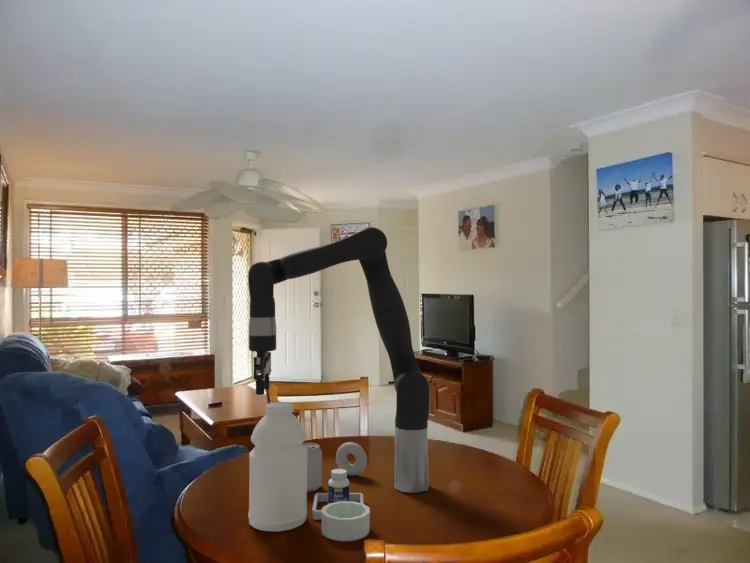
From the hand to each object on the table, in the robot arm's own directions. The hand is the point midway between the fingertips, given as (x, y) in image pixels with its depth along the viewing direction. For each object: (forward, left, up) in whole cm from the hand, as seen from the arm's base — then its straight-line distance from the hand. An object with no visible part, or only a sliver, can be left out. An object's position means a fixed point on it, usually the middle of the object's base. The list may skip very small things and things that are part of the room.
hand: (262, 391), depth 158 cm
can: (-13, -2, -28) cm, 30 cm away
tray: (-22, +14, -27) cm, 38 cm away
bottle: (-7, +21, -28) cm, 35 cm away
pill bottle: (-22, +14, -28) cm, 38 cm away
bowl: (-24, +27, -27) cm, 45 cm away
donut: (-25, -13, -28) cm, 39 cm away
